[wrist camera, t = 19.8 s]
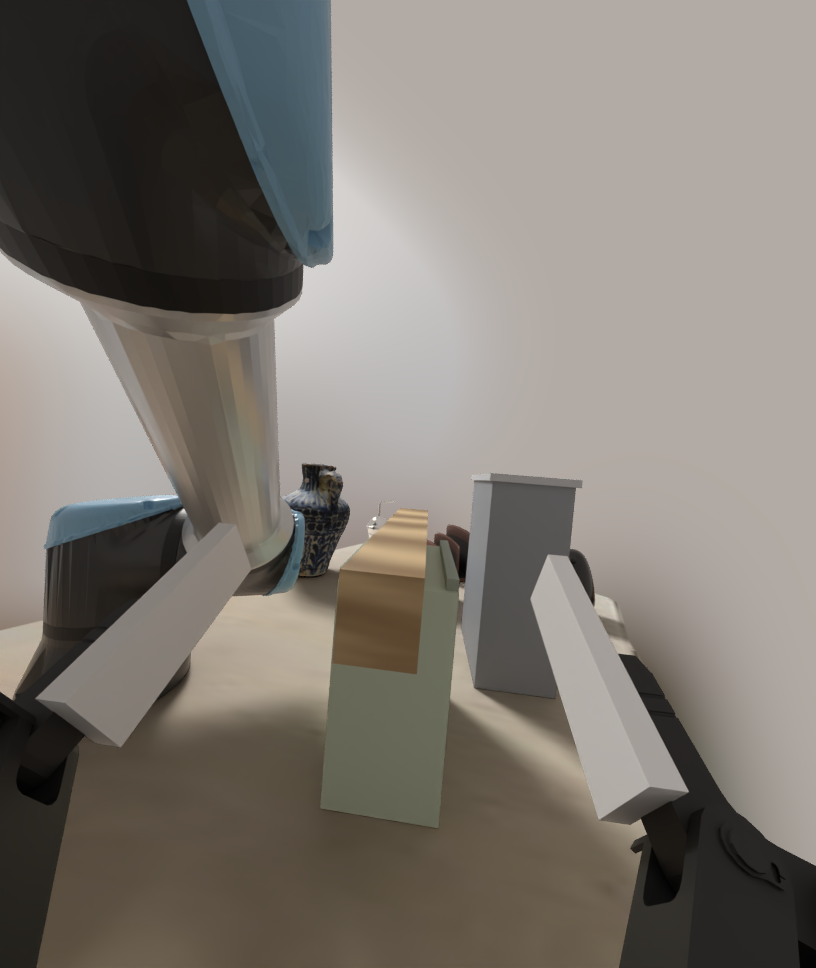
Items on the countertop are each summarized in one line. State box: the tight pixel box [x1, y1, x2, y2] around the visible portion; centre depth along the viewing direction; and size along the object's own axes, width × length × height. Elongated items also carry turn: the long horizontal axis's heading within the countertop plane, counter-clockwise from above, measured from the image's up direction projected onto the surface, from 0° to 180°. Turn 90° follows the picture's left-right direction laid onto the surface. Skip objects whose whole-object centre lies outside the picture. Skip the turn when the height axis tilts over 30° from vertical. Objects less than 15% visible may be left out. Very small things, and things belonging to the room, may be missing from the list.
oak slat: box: [333, 508, 428, 674], centre depth 27 cm, size 28×4×4 cm, turn 176°
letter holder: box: [426, 525, 470, 582], centre depth 92 cm, size 10×20×14 cm, turn 15°
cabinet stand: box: [461, 473, 582, 698], centre depth 47 cm, size 17×12×30 cm
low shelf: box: [320, 533, 459, 828], centre depth 32 cm, size 16×10×20 cm, turn 176°
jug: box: [283, 463, 350, 576], centre depth 80 cm, size 21×19×30 cm
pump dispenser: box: [569, 549, 595, 607], centre depth 66 cm, size 10×10×15 cm
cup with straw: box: [366, 500, 395, 538], centre depth 102 cm, size 8×9×20 cm
